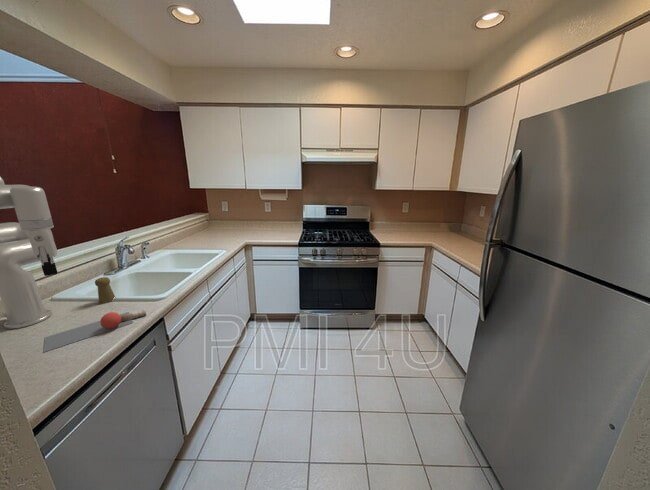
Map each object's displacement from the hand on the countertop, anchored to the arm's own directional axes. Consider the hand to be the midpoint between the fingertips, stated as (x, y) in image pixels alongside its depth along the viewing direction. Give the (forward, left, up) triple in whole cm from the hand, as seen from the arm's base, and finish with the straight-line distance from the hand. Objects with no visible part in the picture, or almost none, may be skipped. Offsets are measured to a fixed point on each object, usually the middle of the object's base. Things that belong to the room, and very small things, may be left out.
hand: (51, 274), depth 91 cm
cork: (-2, +21, -22) cm, 30 cm away
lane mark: (+11, -2, -22) cm, 24 cm away
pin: (+18, +3, -20) cm, 27 cm away
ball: (+18, -1, -19) cm, 26 cm away
